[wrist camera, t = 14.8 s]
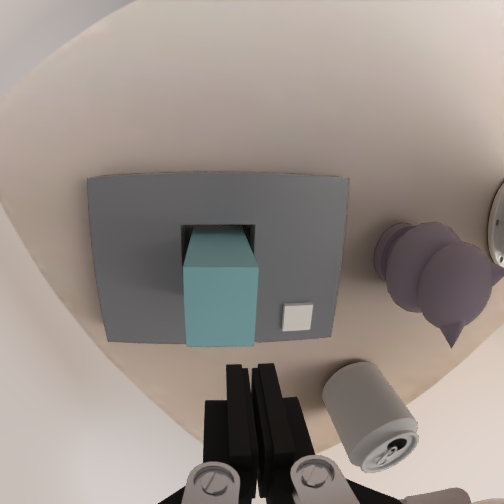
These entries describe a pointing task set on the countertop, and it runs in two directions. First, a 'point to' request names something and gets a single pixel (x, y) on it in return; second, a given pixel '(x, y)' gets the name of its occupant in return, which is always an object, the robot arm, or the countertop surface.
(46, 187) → the countertop surface
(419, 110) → the countertop surface
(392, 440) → the can
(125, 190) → the socket
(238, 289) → the plug
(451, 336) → the cat figurine
